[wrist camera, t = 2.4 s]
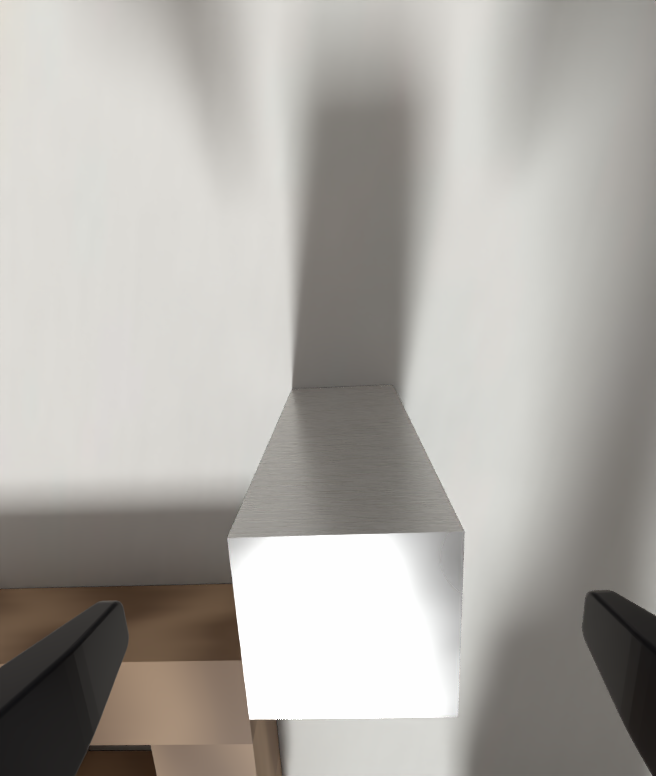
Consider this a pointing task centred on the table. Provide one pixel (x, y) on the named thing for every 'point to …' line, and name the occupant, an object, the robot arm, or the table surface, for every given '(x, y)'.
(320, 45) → the table surface
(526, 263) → the table surface
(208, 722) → the walnut socket block
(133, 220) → the table surface
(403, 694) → the grey metal peg
